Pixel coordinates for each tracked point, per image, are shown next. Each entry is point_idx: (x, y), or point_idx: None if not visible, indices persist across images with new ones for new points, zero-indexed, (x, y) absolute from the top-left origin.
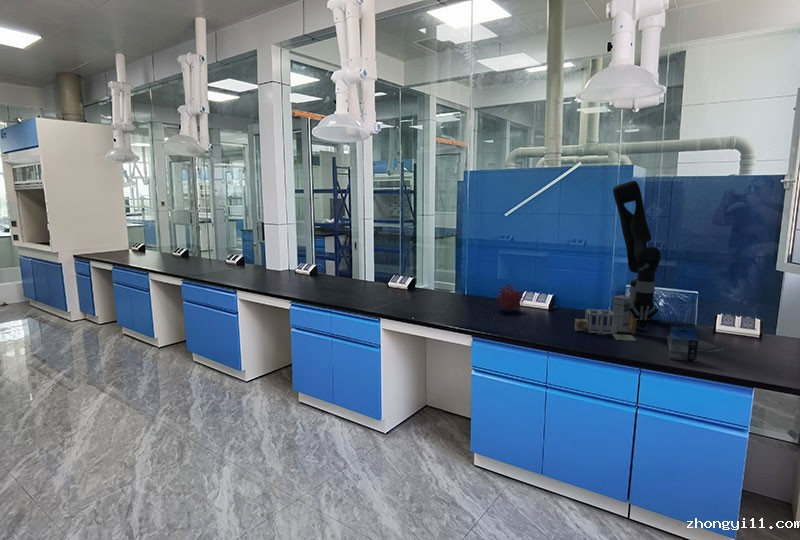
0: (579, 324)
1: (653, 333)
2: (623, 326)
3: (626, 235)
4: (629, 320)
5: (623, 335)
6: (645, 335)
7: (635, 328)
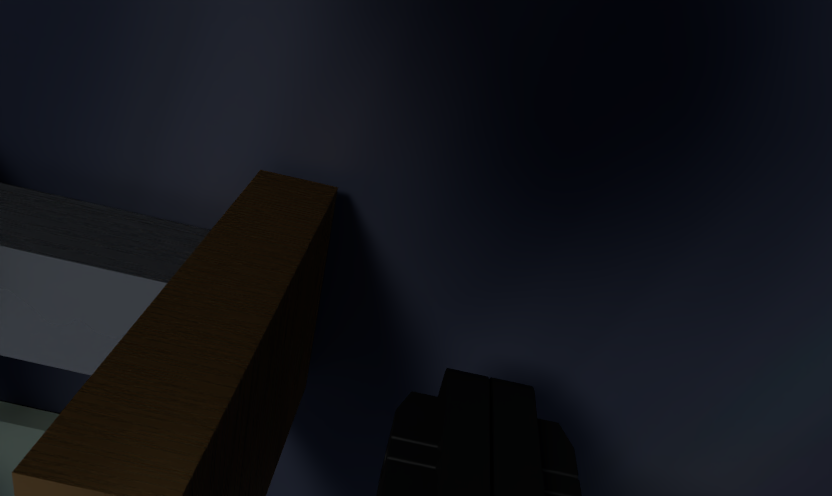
0: None
1: (778, 302)
2: (46, 276)
3: None
4: (136, 333)
5: None
6: None
7: (269, 476)
